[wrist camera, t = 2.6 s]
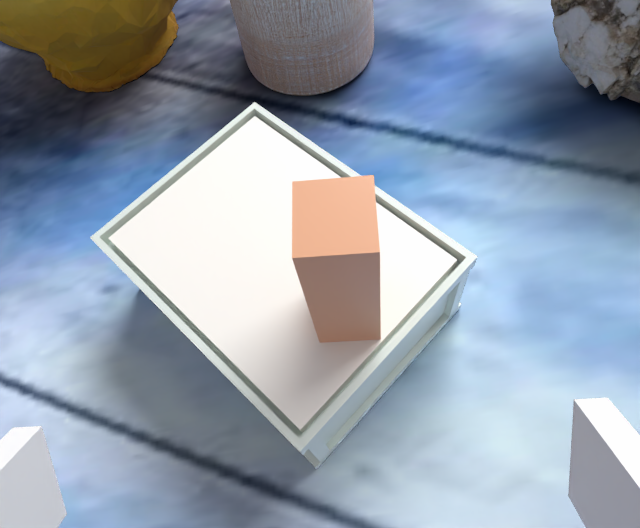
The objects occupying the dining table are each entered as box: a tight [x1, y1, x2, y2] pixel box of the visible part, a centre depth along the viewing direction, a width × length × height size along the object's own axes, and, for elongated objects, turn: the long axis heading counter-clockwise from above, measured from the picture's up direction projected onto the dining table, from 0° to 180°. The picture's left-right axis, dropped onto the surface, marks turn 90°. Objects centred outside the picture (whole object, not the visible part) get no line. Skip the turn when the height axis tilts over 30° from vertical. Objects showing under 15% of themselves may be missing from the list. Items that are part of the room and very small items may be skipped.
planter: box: [230, 0, 374, 96], centre depth 41 cm, size 11×11×10 cm
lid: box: [109, 116, 457, 433], centre depth 25 cm, size 16×12×10 cm
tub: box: [90, 102, 477, 469], centre depth 32 cm, size 17×13×7 cm
